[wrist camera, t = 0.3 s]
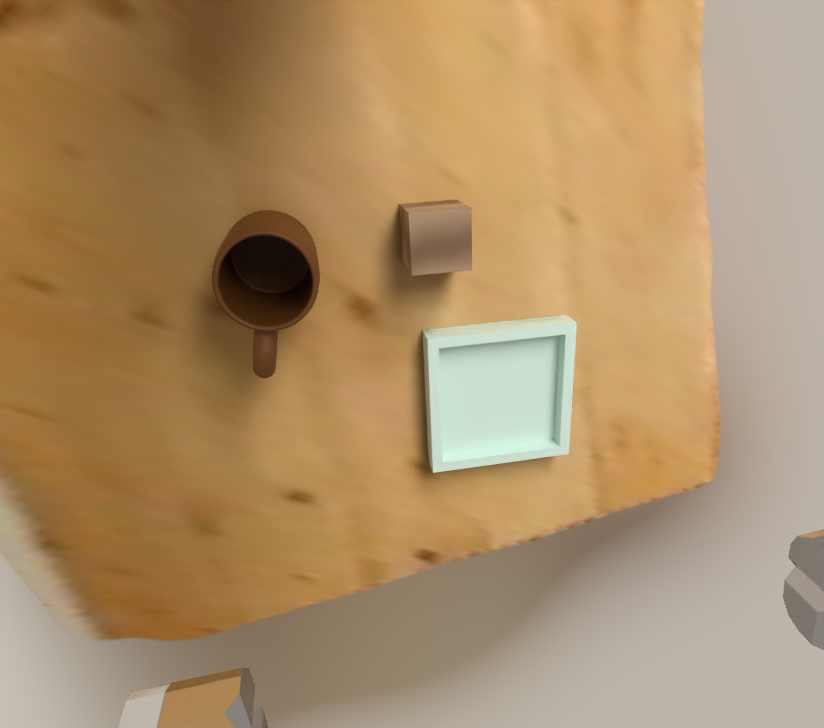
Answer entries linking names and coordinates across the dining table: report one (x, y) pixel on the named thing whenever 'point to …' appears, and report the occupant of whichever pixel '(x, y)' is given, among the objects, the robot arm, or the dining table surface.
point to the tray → (498, 391)
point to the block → (436, 237)
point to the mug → (266, 279)
